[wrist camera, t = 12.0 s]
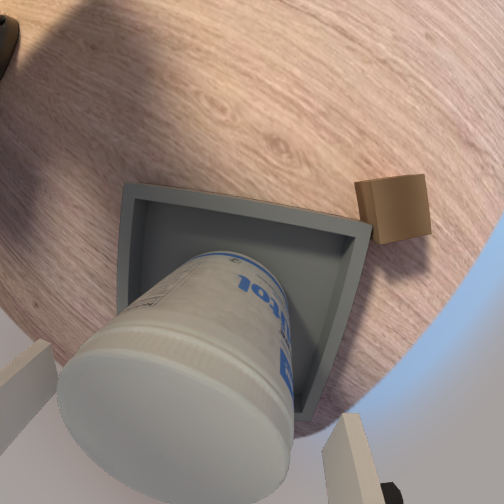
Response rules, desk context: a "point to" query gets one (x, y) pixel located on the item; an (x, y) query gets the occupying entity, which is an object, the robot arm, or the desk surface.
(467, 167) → the desk surface
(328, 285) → the tray
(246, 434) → the supplement tub
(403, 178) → the walnut block
